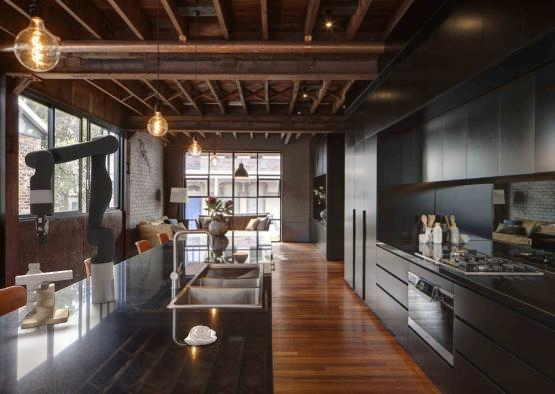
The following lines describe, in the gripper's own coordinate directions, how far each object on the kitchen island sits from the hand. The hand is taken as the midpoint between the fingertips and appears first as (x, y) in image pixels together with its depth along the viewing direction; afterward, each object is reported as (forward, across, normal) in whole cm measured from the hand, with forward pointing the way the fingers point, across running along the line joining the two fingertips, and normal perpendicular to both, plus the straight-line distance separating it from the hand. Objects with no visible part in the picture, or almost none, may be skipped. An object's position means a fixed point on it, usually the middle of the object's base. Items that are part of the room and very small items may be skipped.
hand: (43, 244), depth 140 cm
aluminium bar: (+14, -2, 0) cm, 14 cm away
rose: (+29, -56, -45) cm, 77 cm away
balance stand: (+28, -2, 0) cm, 29 cm away
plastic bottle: (+29, +12, +4) cm, 32 cm away
